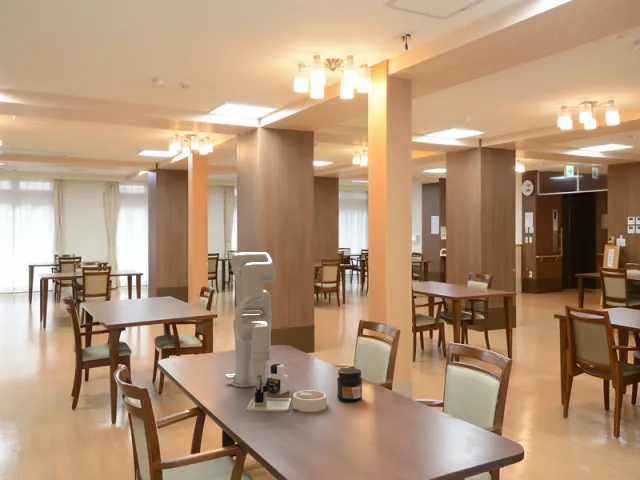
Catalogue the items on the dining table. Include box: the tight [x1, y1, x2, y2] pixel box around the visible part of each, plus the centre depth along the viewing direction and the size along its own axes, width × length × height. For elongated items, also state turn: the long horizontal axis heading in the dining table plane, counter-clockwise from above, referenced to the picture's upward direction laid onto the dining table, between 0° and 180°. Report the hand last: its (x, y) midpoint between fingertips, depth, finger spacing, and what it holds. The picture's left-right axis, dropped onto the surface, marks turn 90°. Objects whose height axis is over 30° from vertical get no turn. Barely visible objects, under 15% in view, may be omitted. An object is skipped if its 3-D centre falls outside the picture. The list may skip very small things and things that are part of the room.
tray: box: [246, 397, 292, 413], centre depth 217 cm, size 16×14×1 cm
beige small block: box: [255, 392, 268, 407], centre depth 217 cm, size 4×4×5 cm
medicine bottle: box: [267, 363, 290, 396], centre depth 236 cm, size 7×7×12 cm
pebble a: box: [300, 393, 311, 399], centre depth 215 cm, size 4×4×5 cm
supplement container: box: [336, 367, 363, 403], centre depth 227 cm, size 10×10×12 cm
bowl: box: [292, 389, 327, 413], centre depth 217 cm, size 13×13×5 cm
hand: (261, 398), depth 217 cm, fingers open, 9 cm apart
